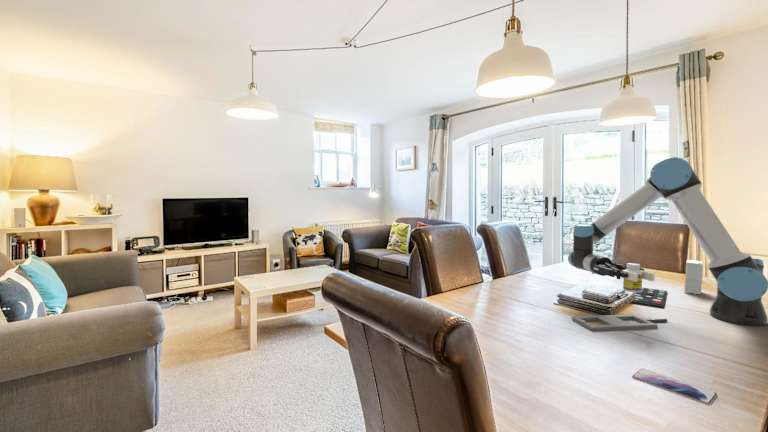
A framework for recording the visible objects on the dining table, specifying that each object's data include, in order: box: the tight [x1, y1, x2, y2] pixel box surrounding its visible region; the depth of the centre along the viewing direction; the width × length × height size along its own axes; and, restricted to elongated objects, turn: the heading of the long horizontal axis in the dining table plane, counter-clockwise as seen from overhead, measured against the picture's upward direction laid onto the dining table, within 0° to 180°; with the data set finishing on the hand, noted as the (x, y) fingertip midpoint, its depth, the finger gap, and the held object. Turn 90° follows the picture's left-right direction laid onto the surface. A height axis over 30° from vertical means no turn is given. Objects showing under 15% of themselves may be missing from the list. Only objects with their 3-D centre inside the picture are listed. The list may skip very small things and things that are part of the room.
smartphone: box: [631, 368, 718, 406], centre depth 85 cm, size 7×1×15 cm
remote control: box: [631, 287, 668, 309], centre depth 159 cm, size 11×30×2 cm, turn 139°
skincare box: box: [683, 259, 704, 295], centre depth 166 cm, size 8×6×15 cm
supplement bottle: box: [622, 262, 643, 294], centre depth 126 cm, size 5×5×10 cm
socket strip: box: [571, 313, 668, 332], centre depth 127 cm, size 32×11×2 cm, turn 95°
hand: (645, 277), depth 121 cm, fingers closed on supplement bottle, 5 cm apart
